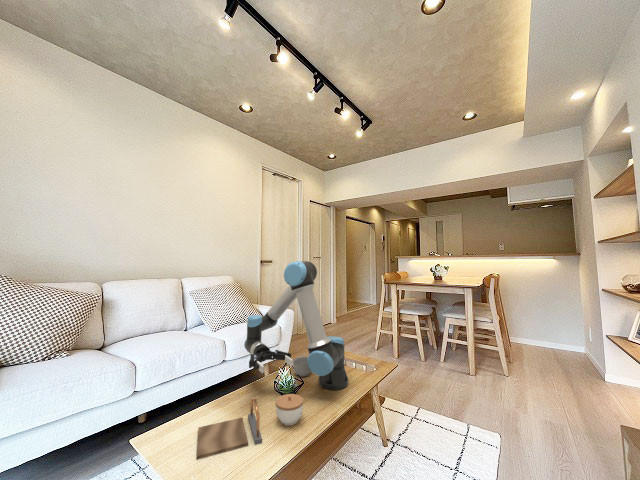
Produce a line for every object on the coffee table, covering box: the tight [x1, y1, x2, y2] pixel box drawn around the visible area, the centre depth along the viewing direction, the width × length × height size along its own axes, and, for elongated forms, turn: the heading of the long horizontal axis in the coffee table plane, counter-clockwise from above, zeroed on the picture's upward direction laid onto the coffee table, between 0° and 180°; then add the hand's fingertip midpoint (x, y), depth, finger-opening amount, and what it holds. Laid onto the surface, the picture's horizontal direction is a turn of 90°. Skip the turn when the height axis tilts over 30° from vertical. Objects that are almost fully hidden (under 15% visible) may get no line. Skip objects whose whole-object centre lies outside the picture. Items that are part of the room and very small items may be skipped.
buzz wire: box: [249, 396, 260, 437], centre depth 100 cm, size 1×15×10 cm, turn 23°
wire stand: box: [247, 412, 263, 446], centre depth 100 cm, size 2×17×1 cm, turn 23°
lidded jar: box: [275, 393, 304, 427], centre depth 105 cm, size 11×11×9 cm
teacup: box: [292, 355, 313, 377], centre depth 150 cm, size 14×11×8 cm
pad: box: [196, 416, 249, 460], centre depth 95 cm, size 16×16×1 cm
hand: (277, 366), depth 115 cm, fingers open, 13 cm apart
